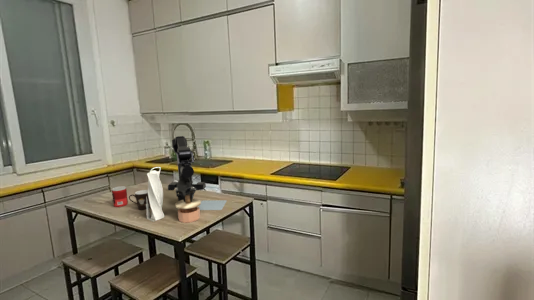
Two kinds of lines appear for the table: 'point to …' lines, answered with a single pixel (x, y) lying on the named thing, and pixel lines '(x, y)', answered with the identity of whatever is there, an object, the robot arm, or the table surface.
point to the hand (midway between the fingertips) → (188, 201)
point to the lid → (188, 203)
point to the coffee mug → (141, 199)
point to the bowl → (189, 215)
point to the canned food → (119, 196)
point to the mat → (212, 204)
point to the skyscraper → (154, 196)
